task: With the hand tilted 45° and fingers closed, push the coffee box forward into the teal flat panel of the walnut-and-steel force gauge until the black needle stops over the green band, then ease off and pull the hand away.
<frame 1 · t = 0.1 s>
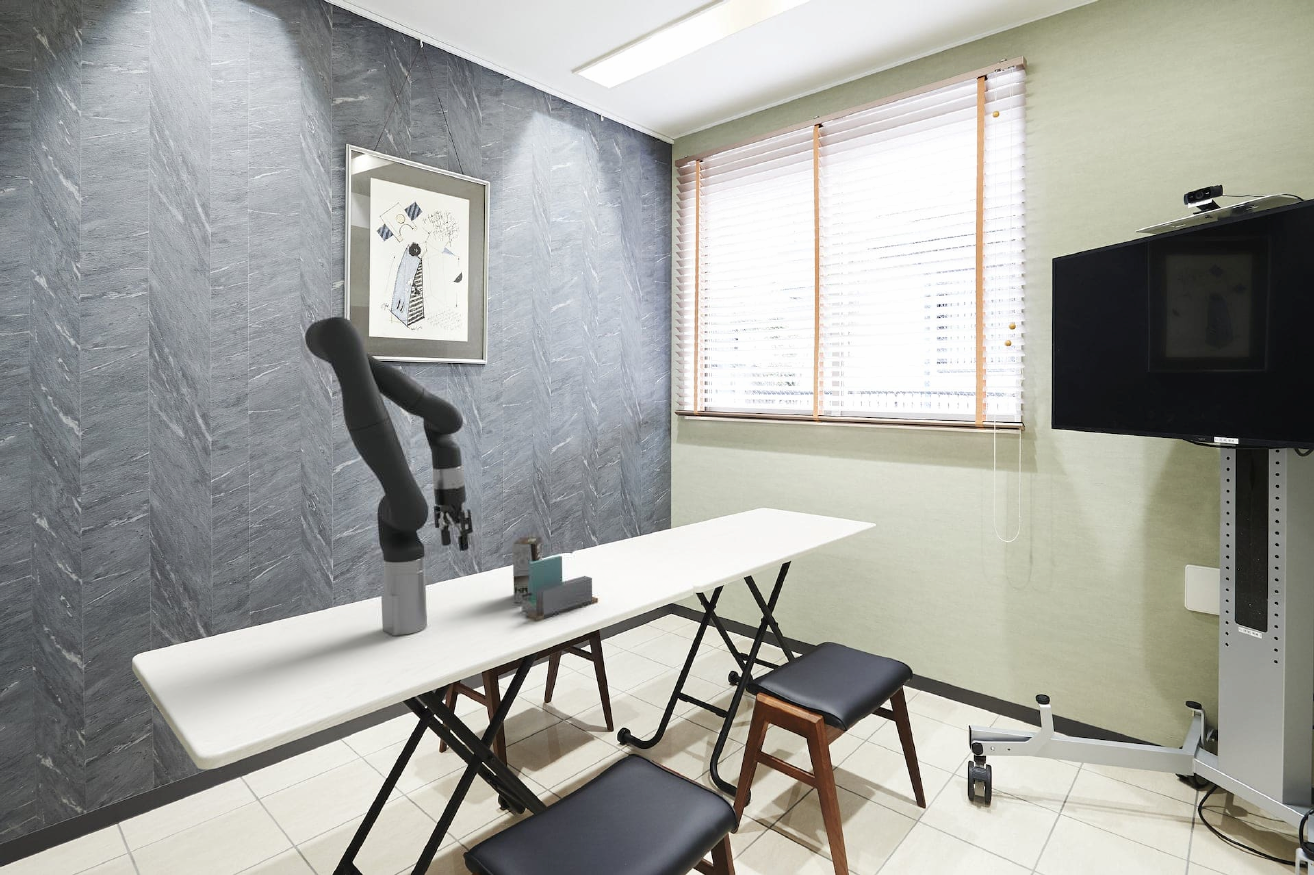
hand: (455, 547, 165), 17 cm above the table, tool pointing down, fingers open, 8 cm apart
gauge housing: (555, 606, 171), on the table
coffee box: (528, 598, 180), on the table
teal flat panel: (542, 578, 173), point 7 cm above the table, slide at 0.0 cm
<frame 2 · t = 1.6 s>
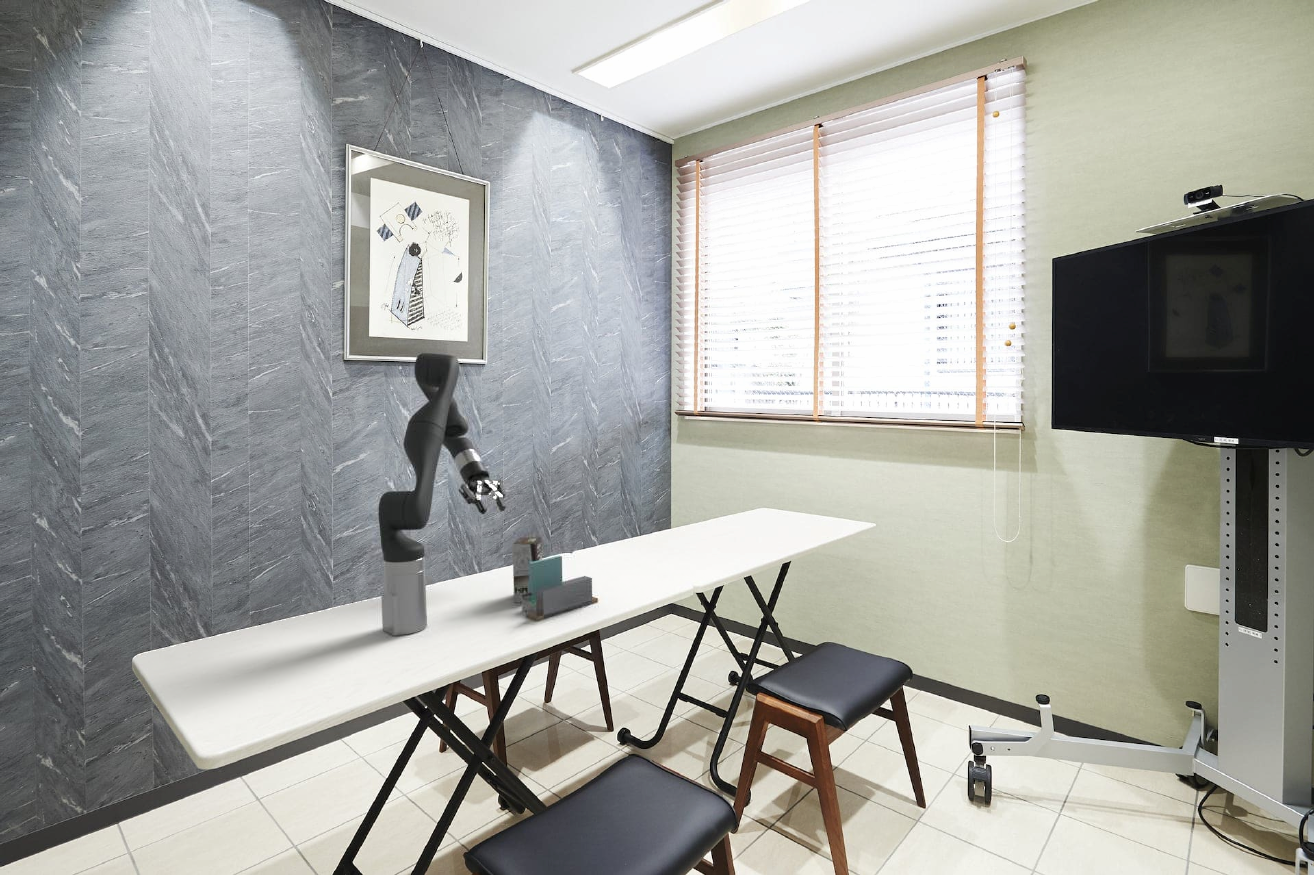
hand: (494, 510, 189), 22 cm above the table, tool tilted 45°, fingers open, 5 cm apart
nothing on the table moved.
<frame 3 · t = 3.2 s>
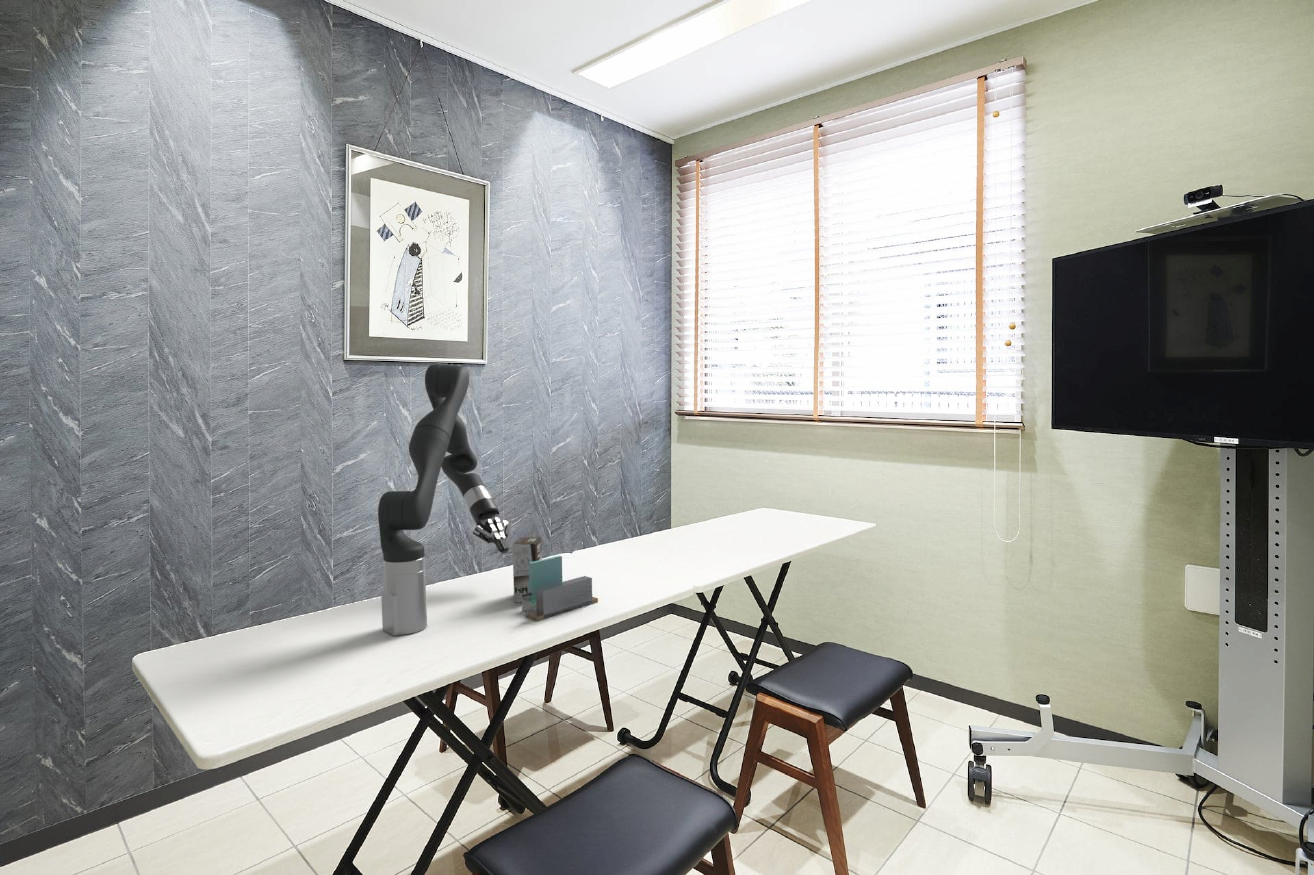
hand: (505, 551, 187), 11 cm above the table, tool tilted 45°, fingers closed
nothing on the table moved.
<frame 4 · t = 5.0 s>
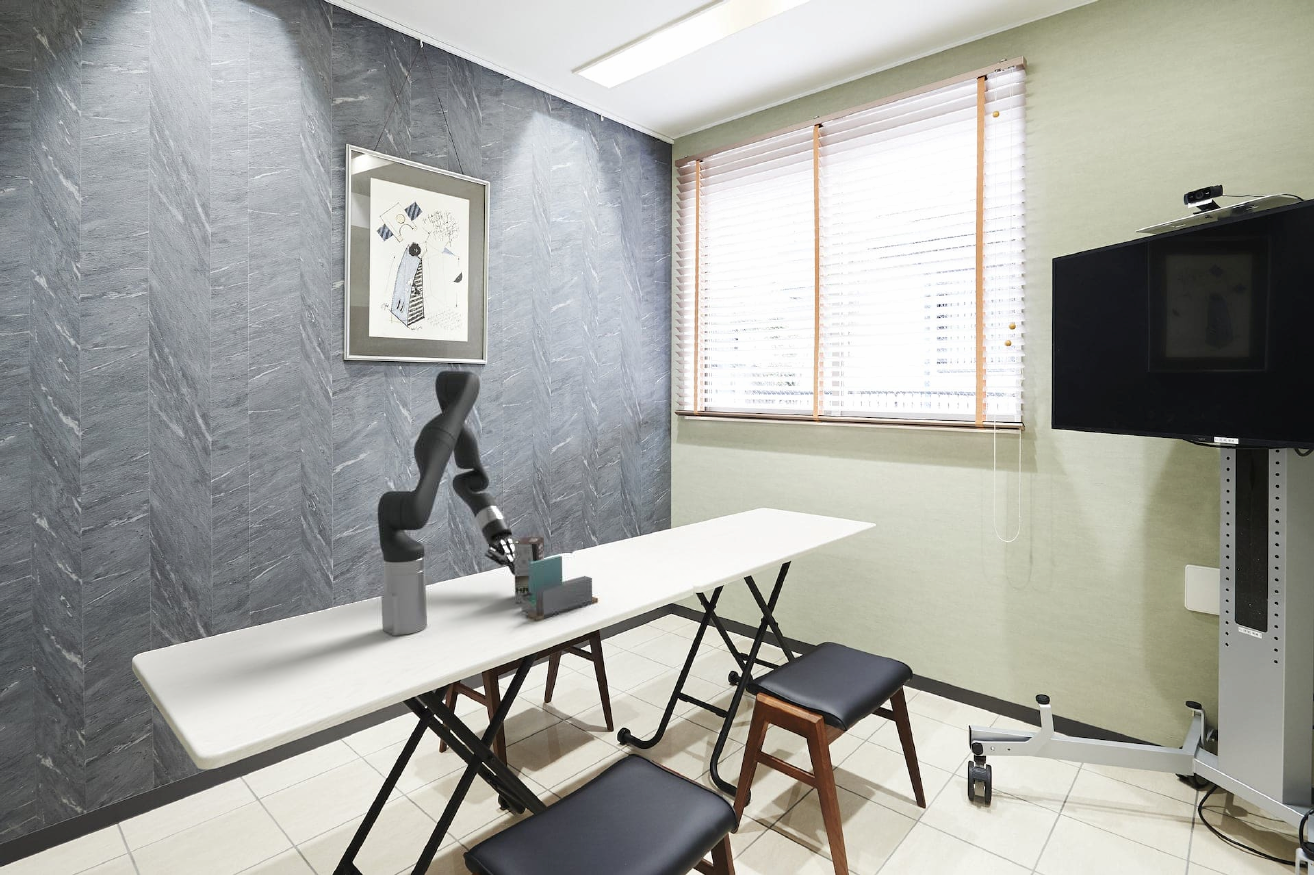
hand: (518, 574, 182), 6 cm above the table, tool tilted 45°, fingers closed
coffee box: (530, 598, 179), on the table, touching gripper
everything else where it was.
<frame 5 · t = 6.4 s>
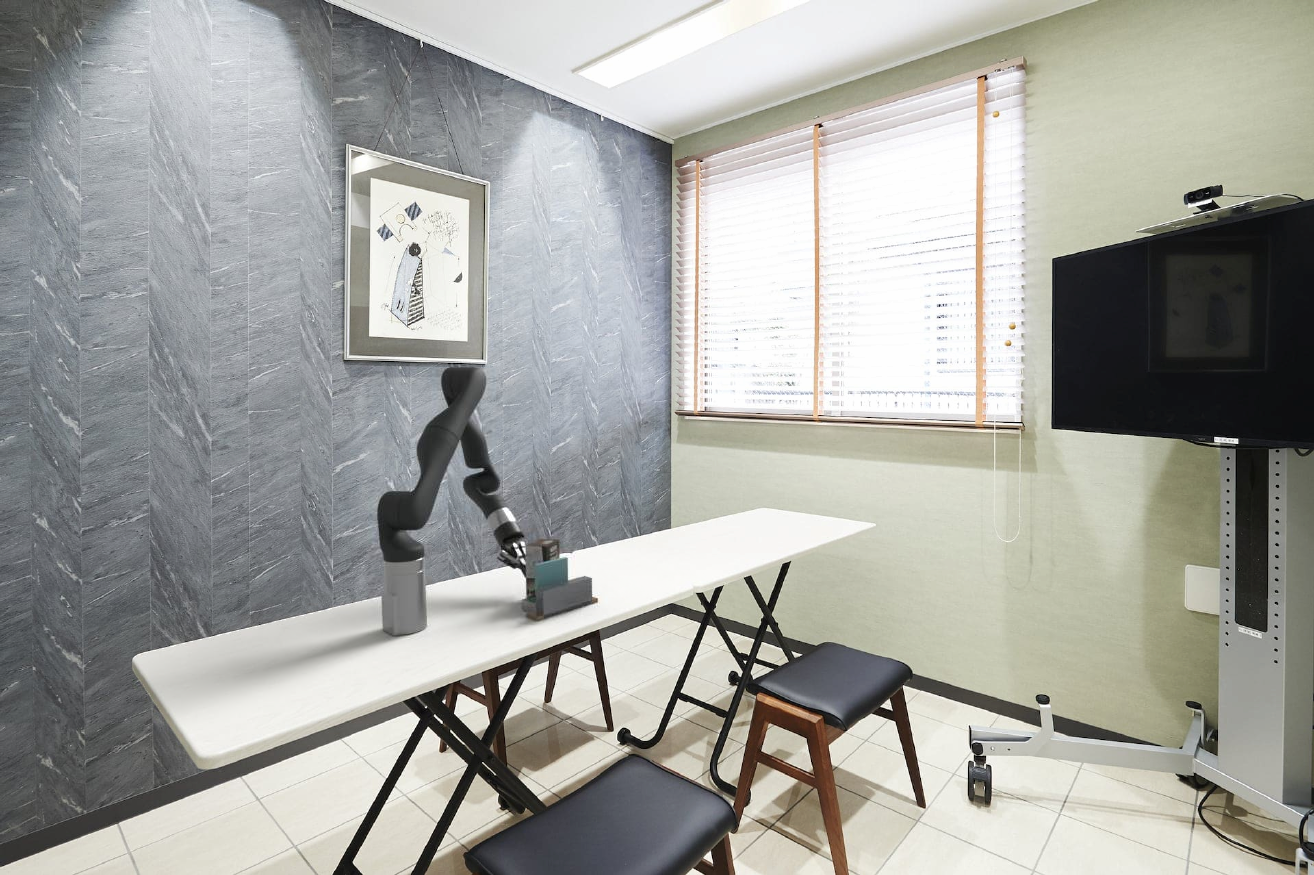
hand: (531, 577, 179), 6 cm above the table, tool tilted 45°, fingers closed
coffee box: (544, 601, 177), on the table, touching teal flat panel, gripper
teal flat panel: (547, 580, 171), point 7 cm above the table, slide at 2.5 cm, touching coffee box
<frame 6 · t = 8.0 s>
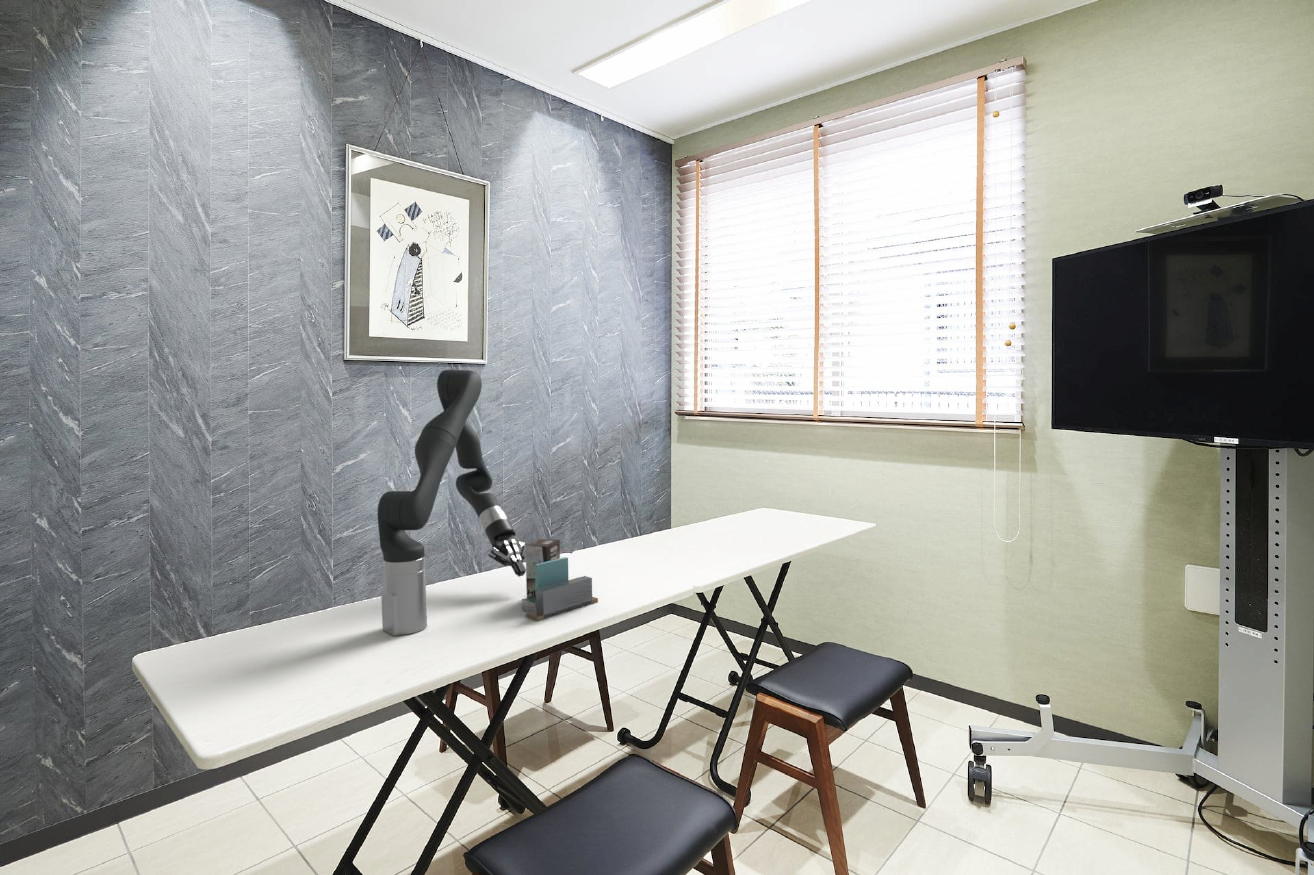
hand: (522, 574, 181), 6 cm above the table, tool tilted 45°, fingers closed
coffee box: (544, 601, 177), on the table
teal flat panel: (548, 580, 171), point 7 cm above the table, slide at 2.6 cm
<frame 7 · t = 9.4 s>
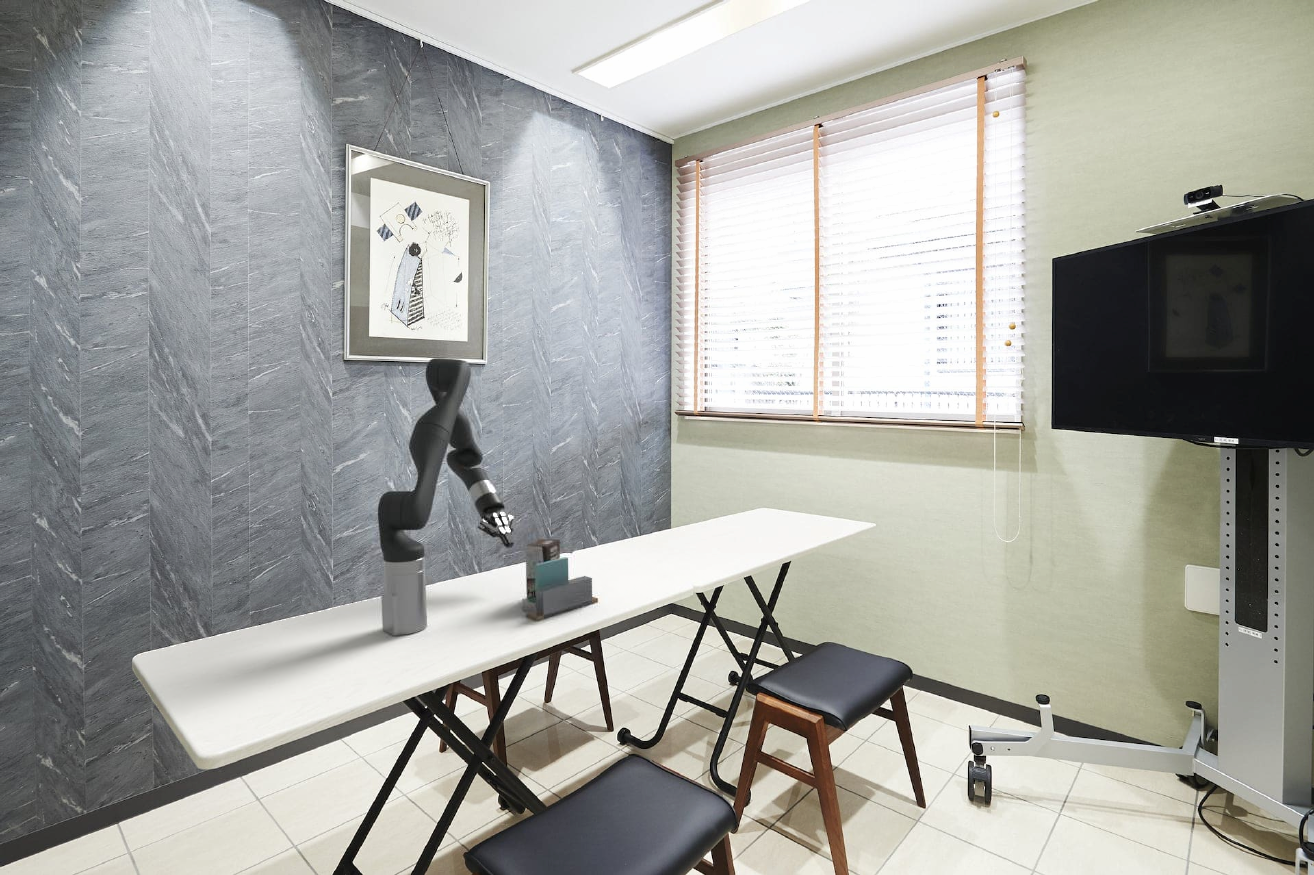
hand: (510, 546, 184), 13 cm above the table, tool tilted 45°, fingers closed
nothing on the table moved.
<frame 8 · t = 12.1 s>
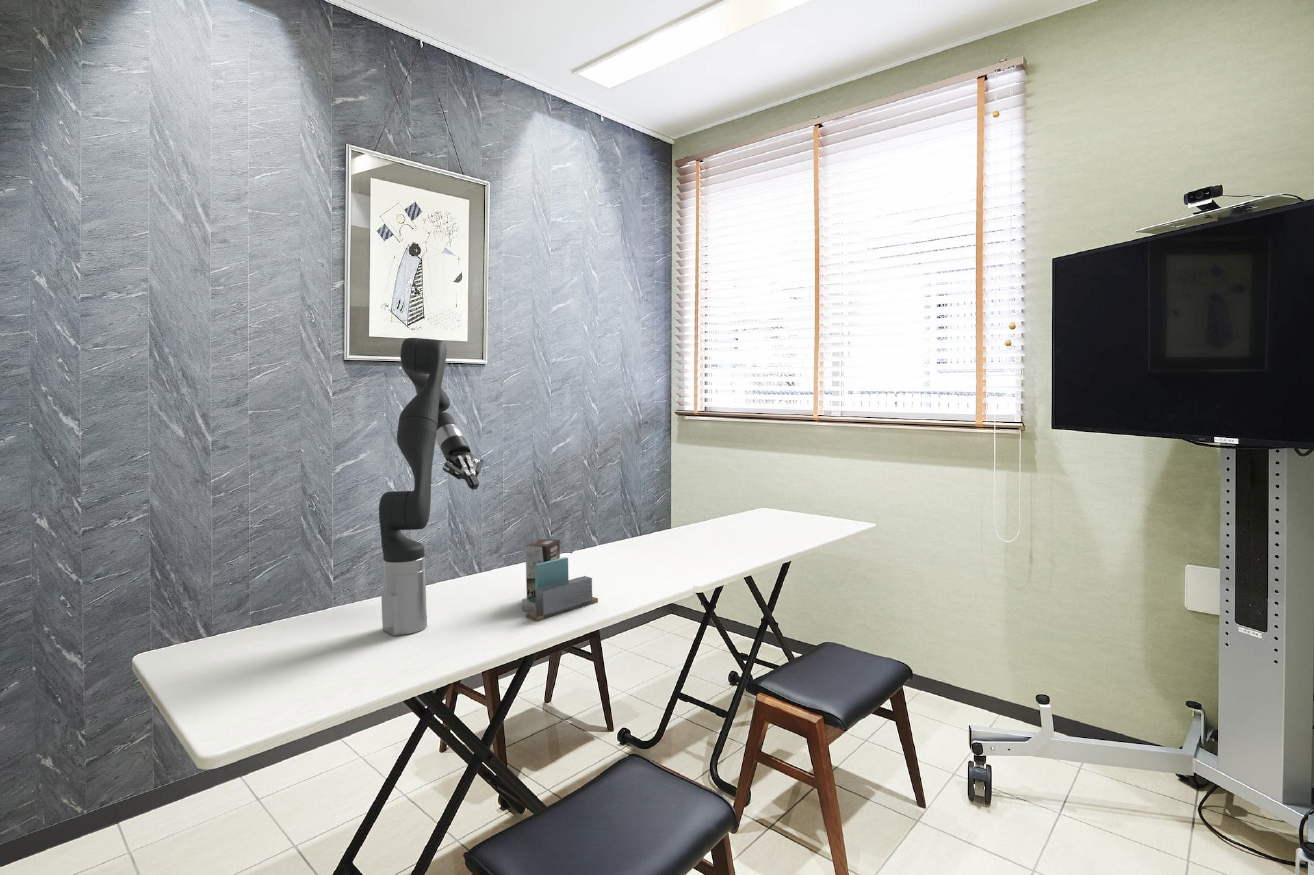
hand: (475, 487, 184), 30 cm above the table, tool tilted 45°, fingers closed
nothing on the table moved.
at the end: teal flat panel slide at 2.6 cm; coffee box tilted 0°; coffee box moved 5.6 cm from its start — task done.
